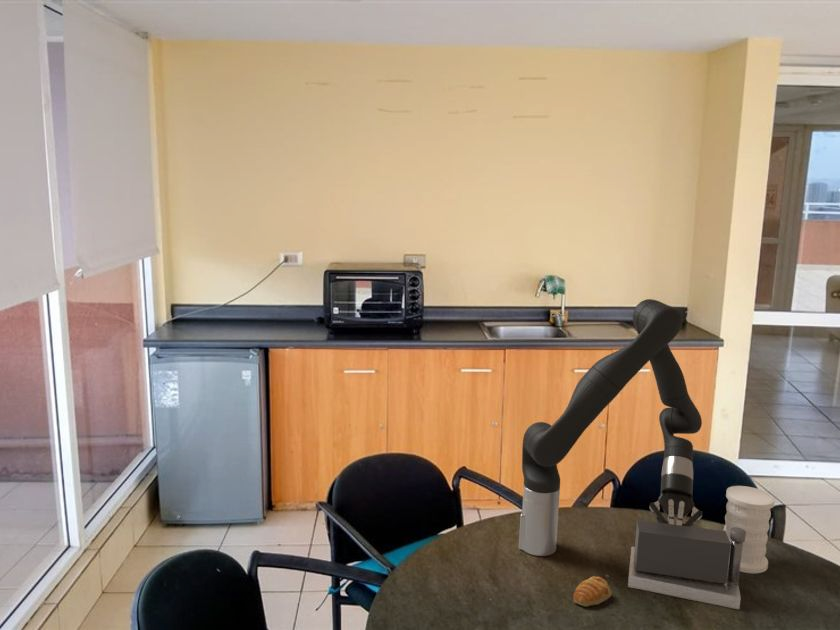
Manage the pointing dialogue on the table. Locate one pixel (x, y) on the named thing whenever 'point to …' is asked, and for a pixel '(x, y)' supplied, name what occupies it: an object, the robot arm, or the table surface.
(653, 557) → the grey block with knob
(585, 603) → the pastry
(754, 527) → the decorative container
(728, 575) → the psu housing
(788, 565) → the table surface
